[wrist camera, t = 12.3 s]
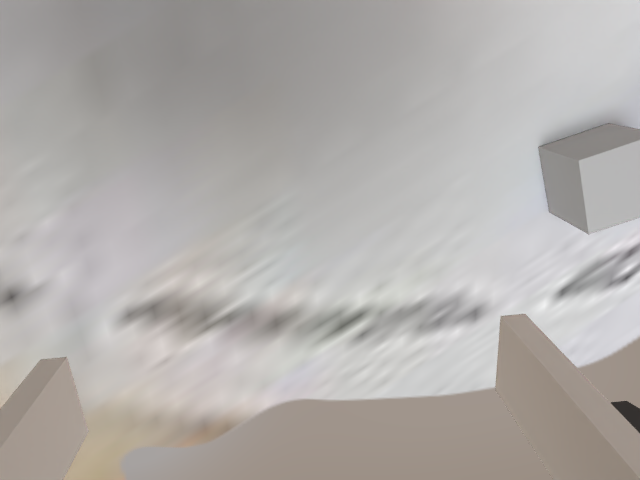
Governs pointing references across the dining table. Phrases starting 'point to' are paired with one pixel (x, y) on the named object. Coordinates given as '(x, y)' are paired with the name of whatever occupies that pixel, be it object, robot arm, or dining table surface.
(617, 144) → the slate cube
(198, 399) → the dining table surface
